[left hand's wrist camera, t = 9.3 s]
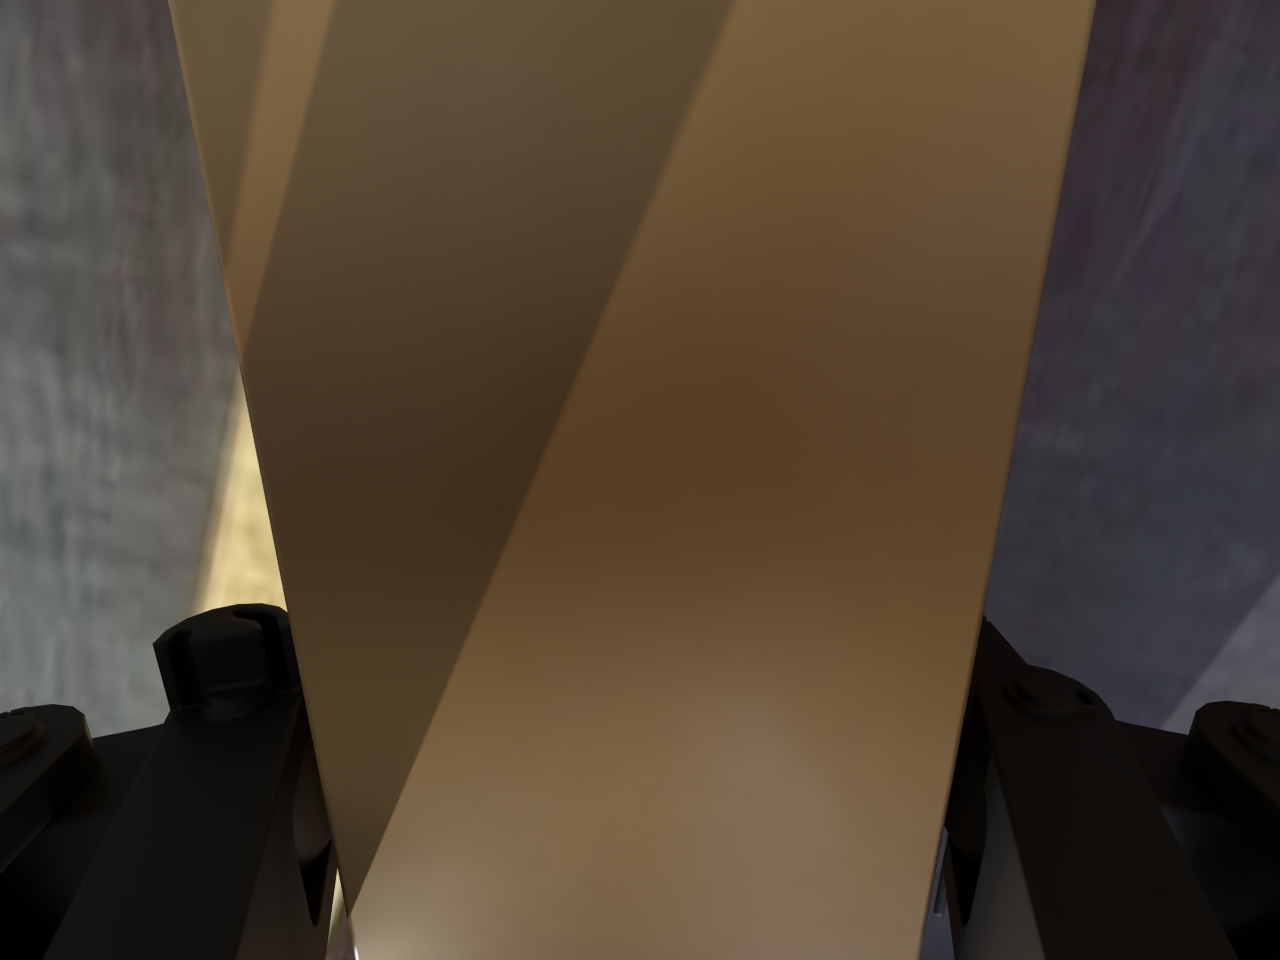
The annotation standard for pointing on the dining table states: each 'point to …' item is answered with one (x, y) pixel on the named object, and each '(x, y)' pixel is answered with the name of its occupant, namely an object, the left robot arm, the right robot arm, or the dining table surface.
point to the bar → (634, 440)
